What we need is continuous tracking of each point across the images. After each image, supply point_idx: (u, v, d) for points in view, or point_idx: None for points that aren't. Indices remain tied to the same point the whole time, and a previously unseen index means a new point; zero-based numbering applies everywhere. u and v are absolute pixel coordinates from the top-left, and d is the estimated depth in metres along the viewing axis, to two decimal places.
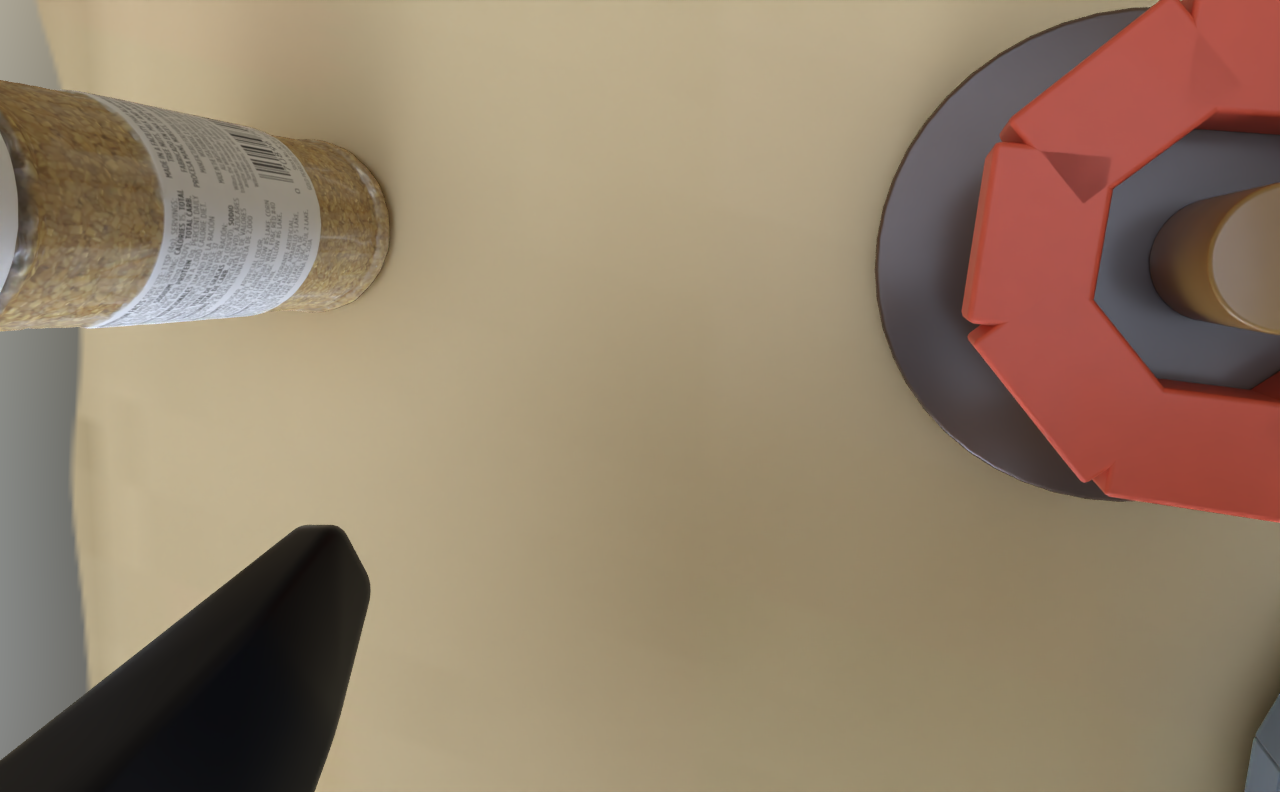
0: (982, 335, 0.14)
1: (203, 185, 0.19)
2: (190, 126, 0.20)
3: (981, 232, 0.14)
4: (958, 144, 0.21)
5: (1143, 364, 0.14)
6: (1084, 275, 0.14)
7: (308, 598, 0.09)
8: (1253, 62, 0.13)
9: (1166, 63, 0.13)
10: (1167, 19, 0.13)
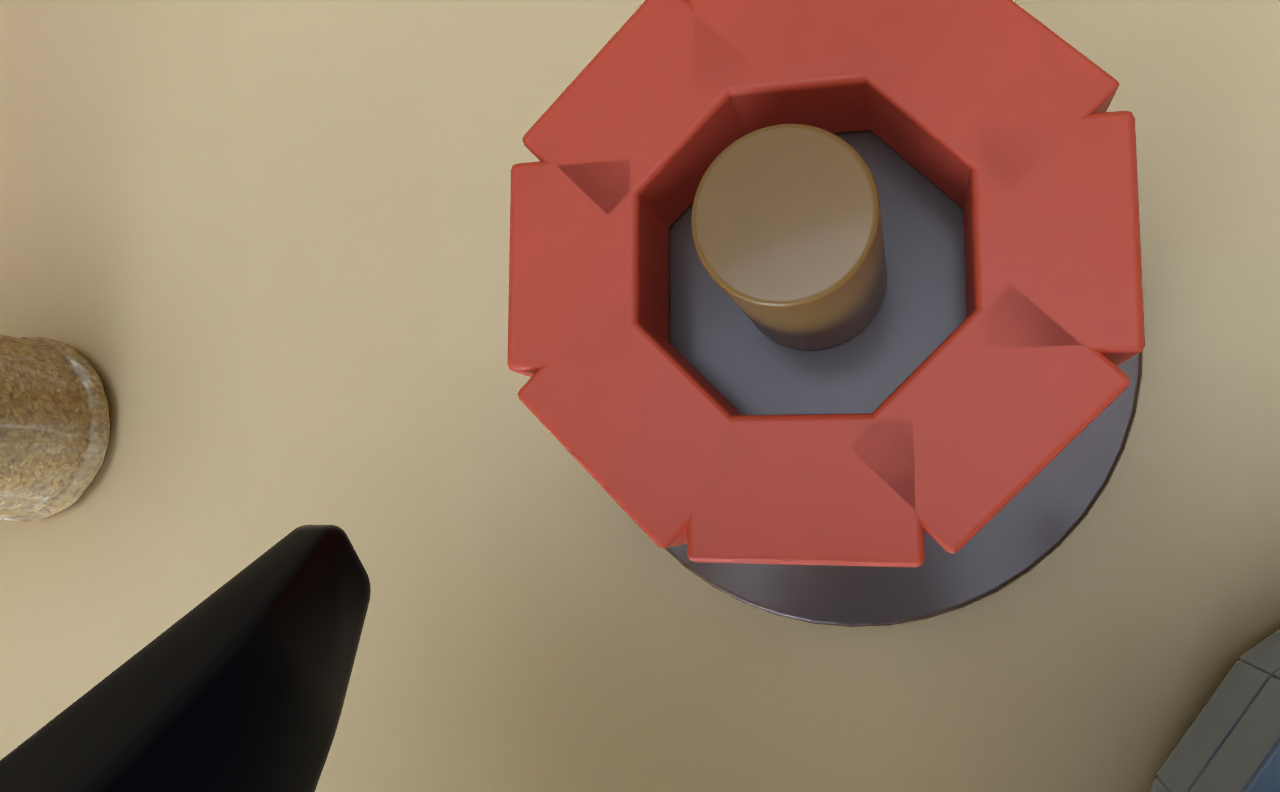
0: (526, 384, 0.12)
1: None
2: None
3: None
4: None
5: (703, 390, 0.11)
6: (621, 295, 0.11)
7: (308, 598, 0.09)
8: (755, 36, 0.11)
9: (668, 52, 0.11)
10: (662, 8, 0.12)
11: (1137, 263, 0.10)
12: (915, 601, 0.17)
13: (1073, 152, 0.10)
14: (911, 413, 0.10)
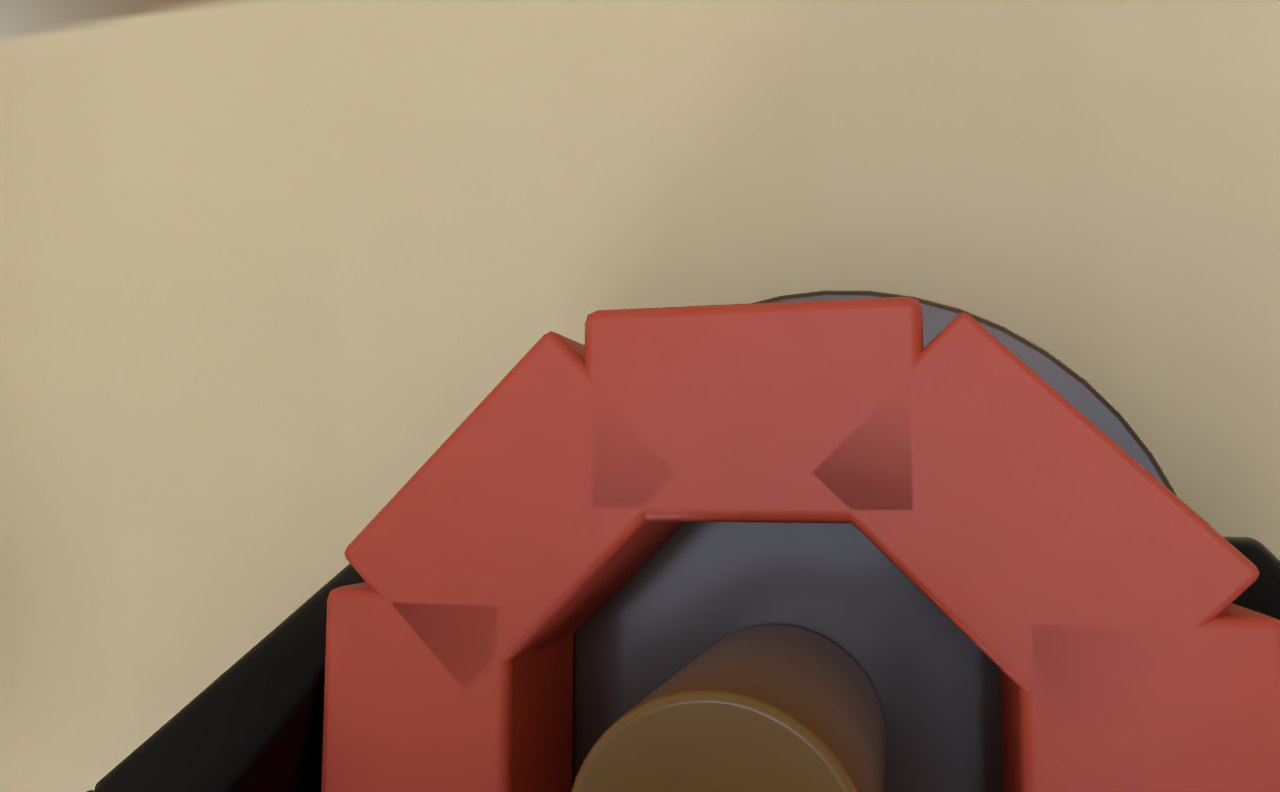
0: None
1: None
2: None
3: None
4: None
5: None
6: None
7: None
8: (685, 433, 0.07)
9: (555, 444, 0.08)
10: (547, 373, 0.08)
11: None
12: None
13: (1186, 682, 0.06)
14: None
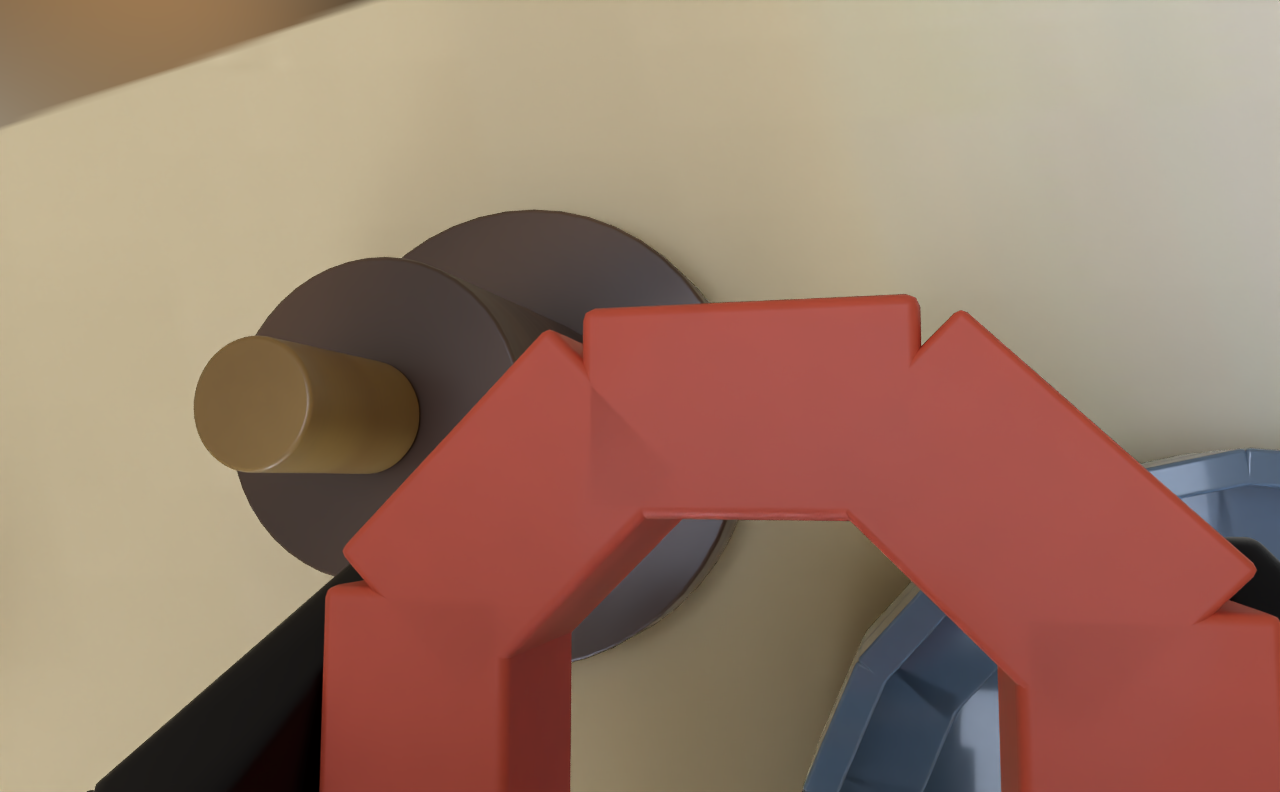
0: None
1: None
2: None
3: None
4: None
5: None
6: None
7: None
8: (682, 431, 0.07)
9: (553, 442, 0.08)
10: (545, 370, 0.08)
11: None
12: (601, 635, 0.21)
13: (1183, 679, 0.06)
14: None
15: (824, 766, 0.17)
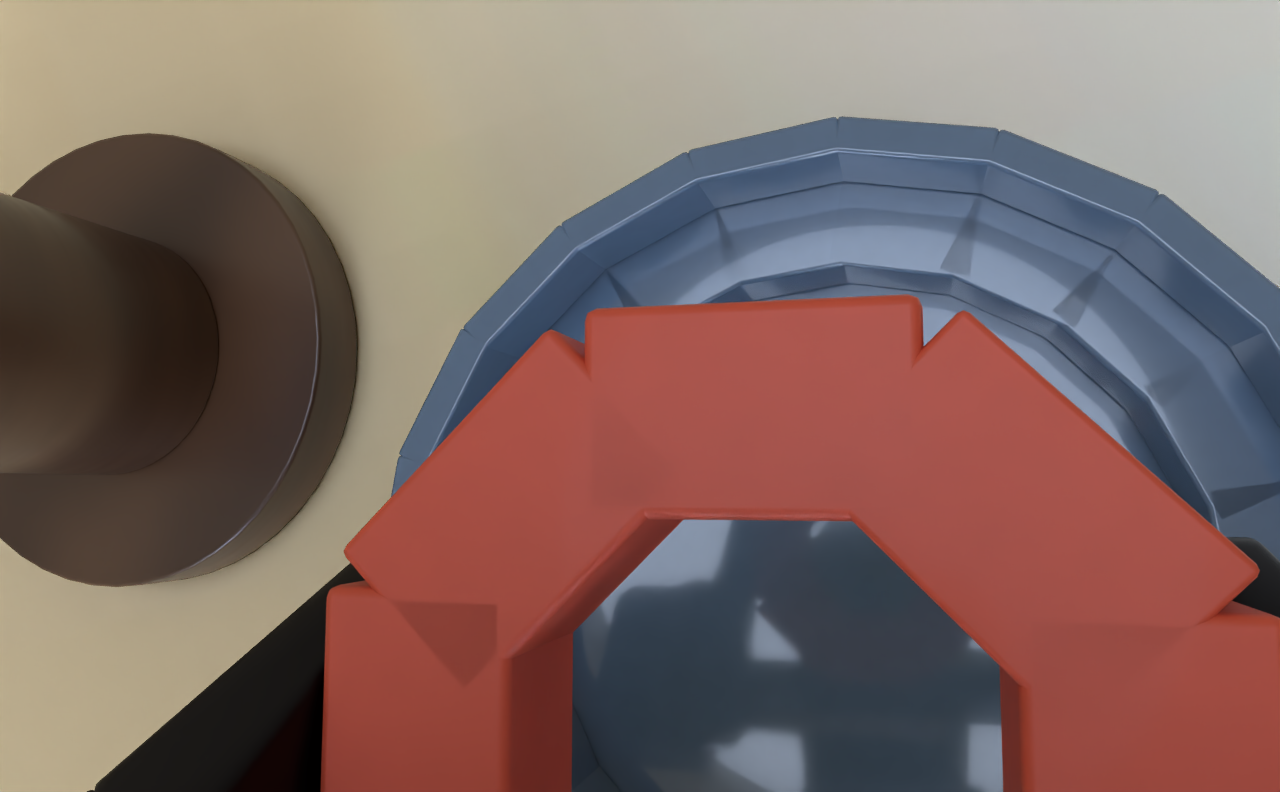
0: None
1: None
2: None
3: None
4: None
5: None
6: None
7: None
8: (684, 431, 0.07)
9: (555, 442, 0.08)
10: (547, 370, 0.08)
11: None
12: (225, 524, 0.21)
13: (1186, 680, 0.06)
14: None
15: None
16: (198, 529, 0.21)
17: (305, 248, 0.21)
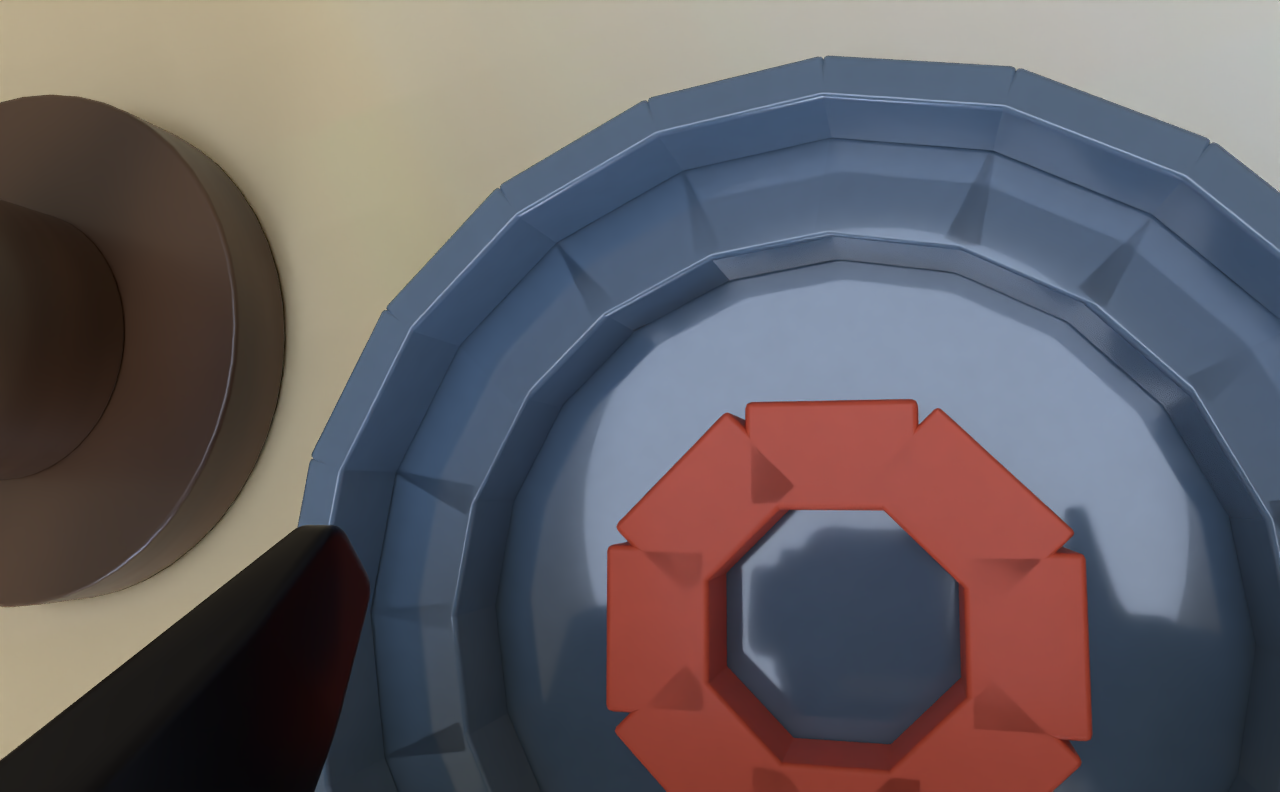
0: (621, 722, 0.15)
1: None
2: None
3: None
4: None
5: (760, 741, 0.14)
6: (696, 661, 0.15)
7: (308, 598, 0.09)
8: (799, 465, 0.15)
9: (731, 470, 0.15)
10: (726, 434, 0.15)
11: (1087, 672, 0.13)
12: (129, 537, 0.18)
13: (1040, 583, 0.14)
14: (918, 771, 0.14)
15: None
16: (99, 542, 0.18)
17: (221, 222, 0.18)
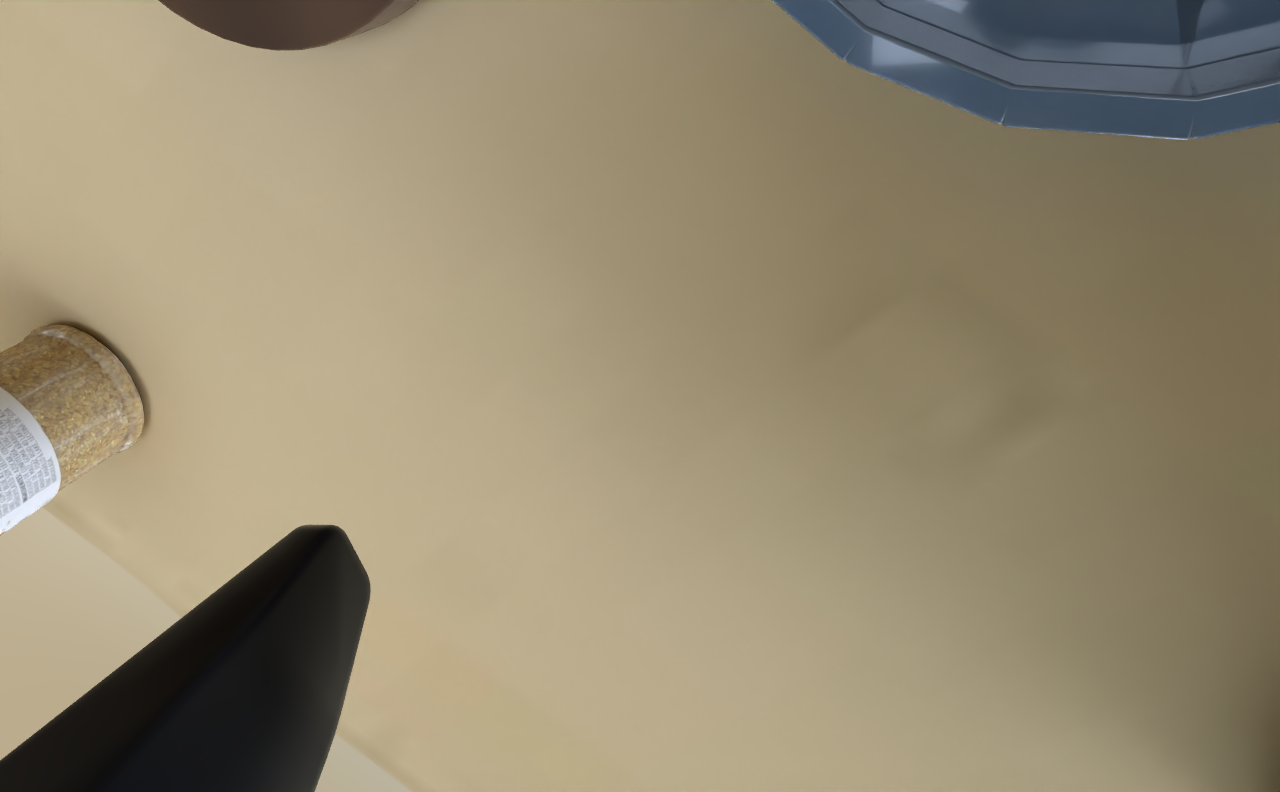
0: None
1: None
2: None
3: None
4: None
5: None
6: None
7: (308, 598, 0.09)
8: None
9: None
10: None
11: None
12: None
13: None
14: None
15: None
16: None
17: None
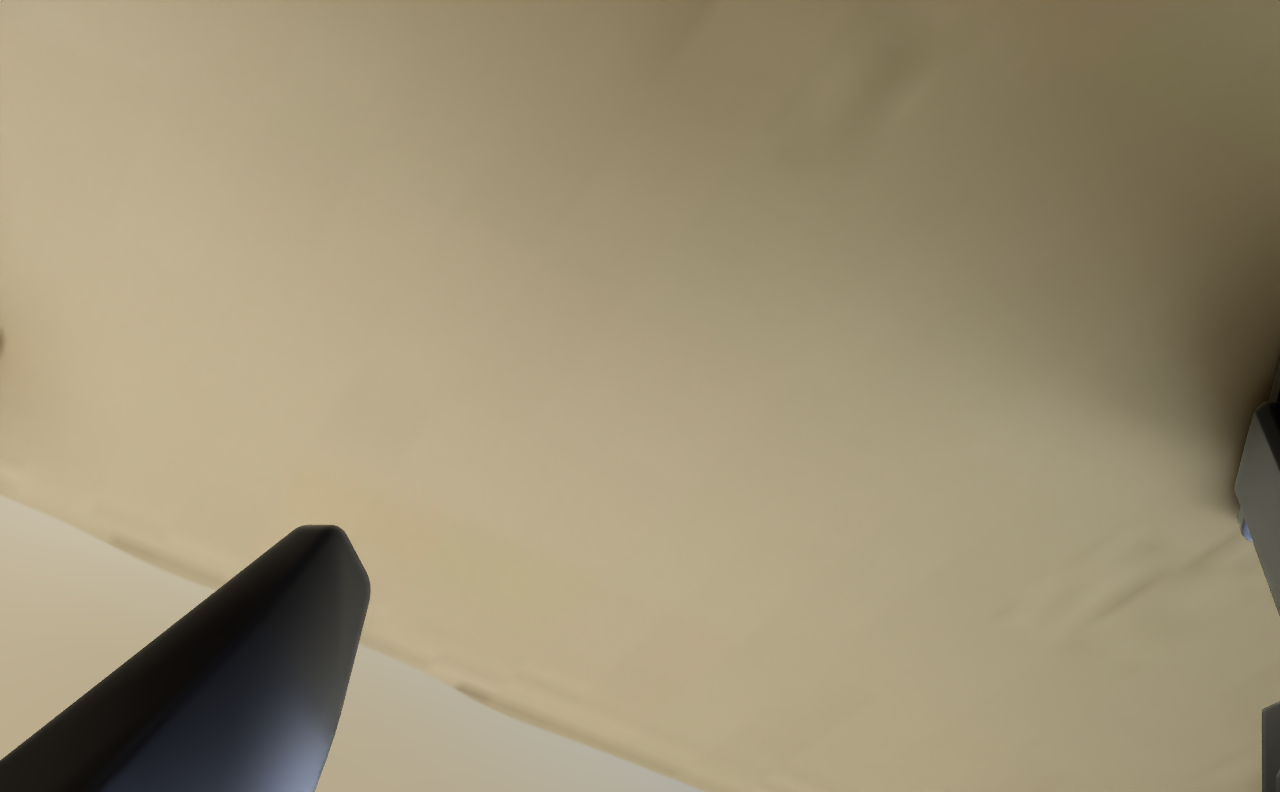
0: None
1: None
2: None
3: None
4: None
5: None
6: None
7: (308, 598, 0.09)
8: None
9: None
10: None
11: None
12: None
13: None
14: None
15: None
16: None
17: None
